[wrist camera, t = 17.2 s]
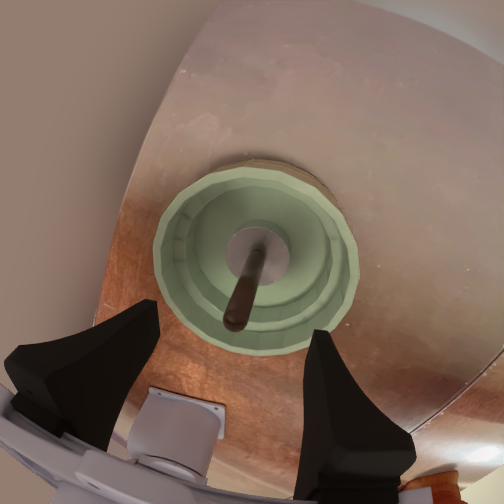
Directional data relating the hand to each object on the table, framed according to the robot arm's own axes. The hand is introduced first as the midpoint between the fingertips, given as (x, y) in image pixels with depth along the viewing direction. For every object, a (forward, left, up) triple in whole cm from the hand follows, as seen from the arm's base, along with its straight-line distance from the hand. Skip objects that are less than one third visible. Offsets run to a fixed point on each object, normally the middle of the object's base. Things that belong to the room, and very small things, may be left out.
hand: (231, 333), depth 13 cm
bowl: (0, 0, -10) cm, 10 cm away
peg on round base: (0, 0, -10) cm, 10 cm away
